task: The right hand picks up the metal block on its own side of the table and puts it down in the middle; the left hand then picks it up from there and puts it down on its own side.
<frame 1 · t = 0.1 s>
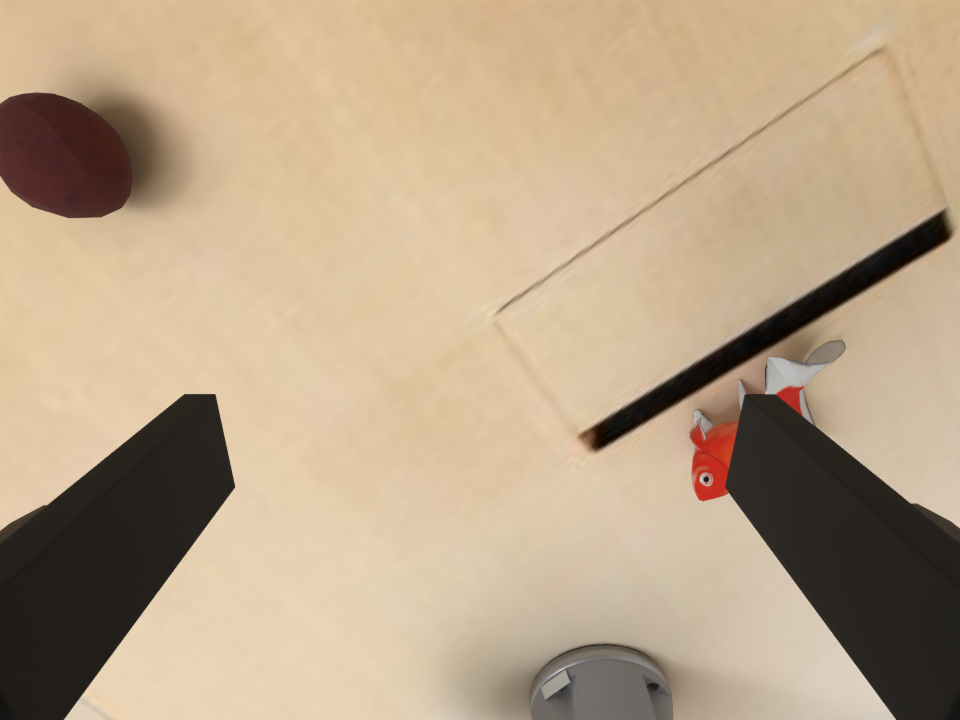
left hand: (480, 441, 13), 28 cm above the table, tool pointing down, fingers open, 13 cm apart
fish: (741, 394, 43), on the table
dark brown round piece: (103, 159, 37), on the table
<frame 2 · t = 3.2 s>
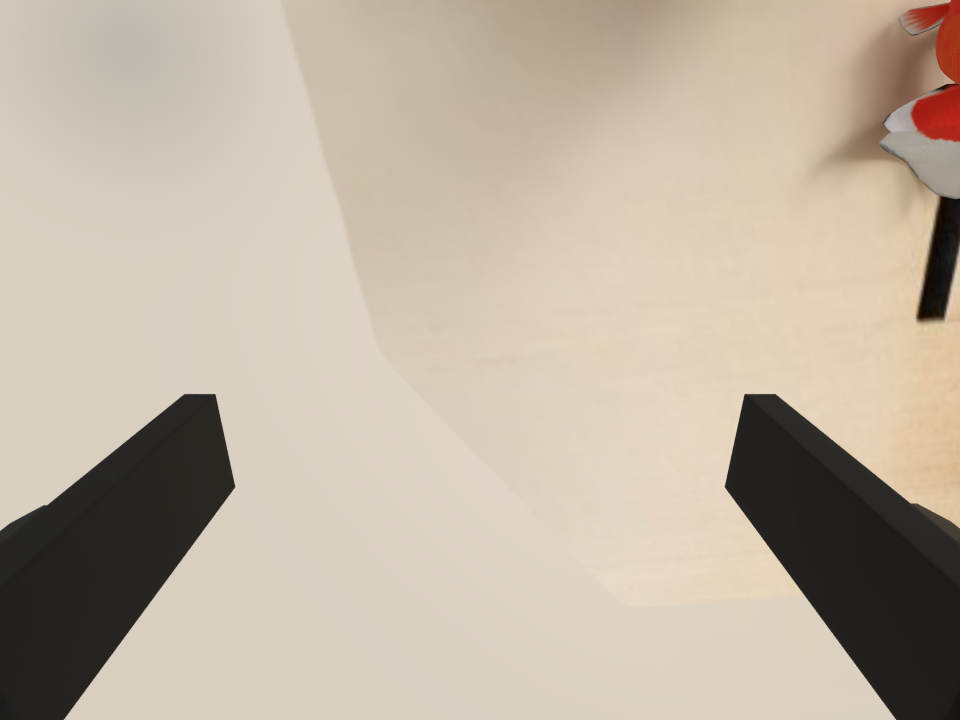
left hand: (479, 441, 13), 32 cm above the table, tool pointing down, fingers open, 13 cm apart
fish: (926, 93, 39), on the table
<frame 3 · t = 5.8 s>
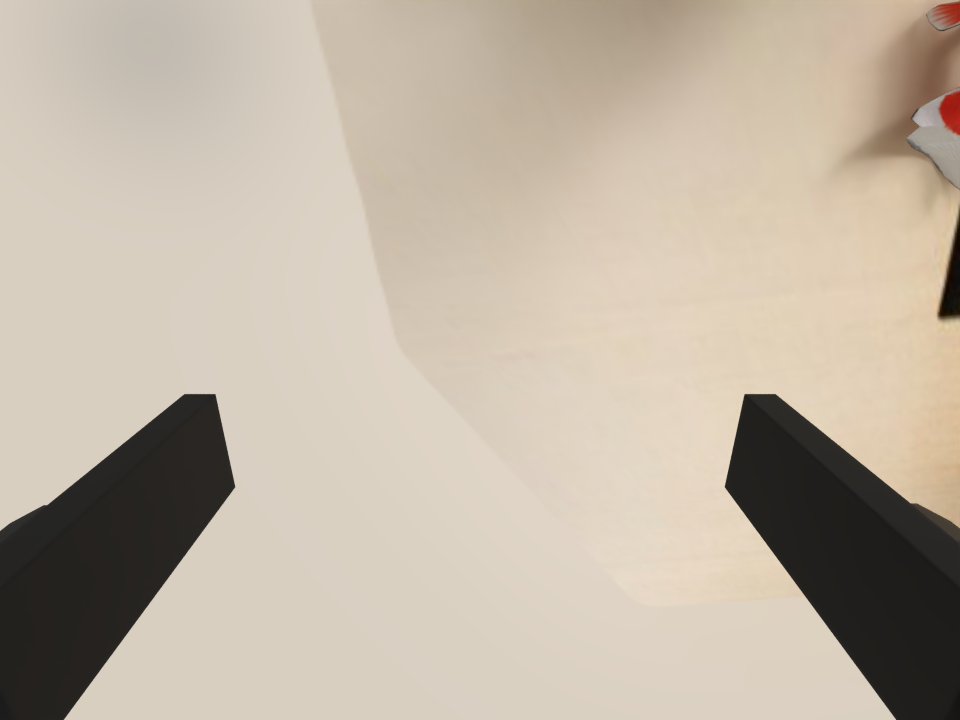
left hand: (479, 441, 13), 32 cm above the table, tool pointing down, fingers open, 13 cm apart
fish: (952, 89, 39), on the table
when the right hand's fingers open (2 cm above the table, at t = 8.6 s): block drops 2 cm, on the table.
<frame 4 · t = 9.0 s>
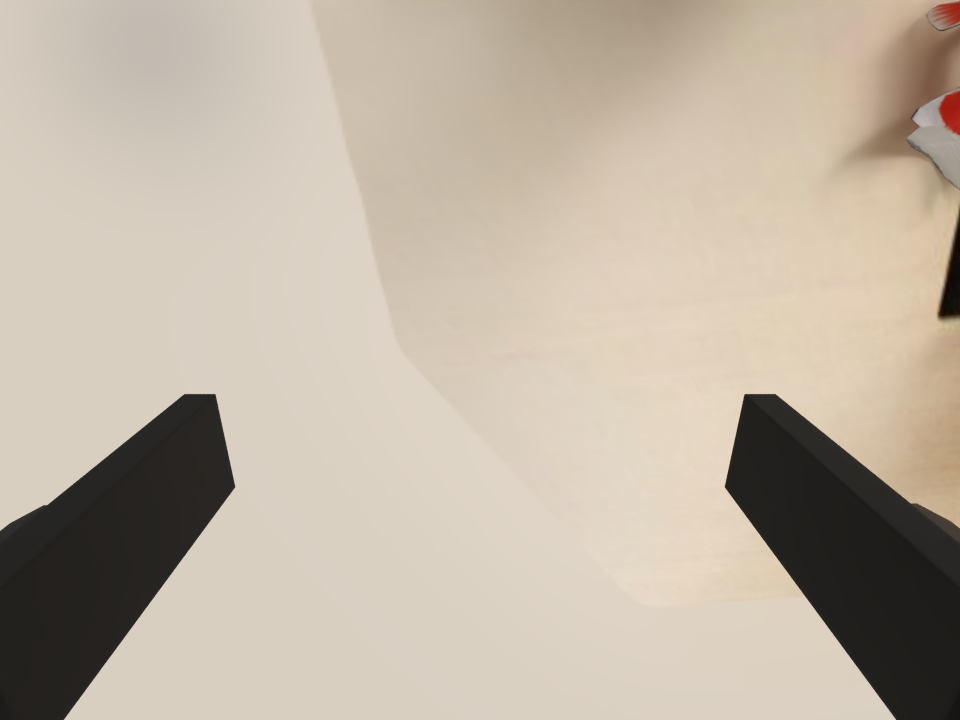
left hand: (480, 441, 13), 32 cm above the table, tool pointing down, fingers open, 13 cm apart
fish: (952, 89, 39), on the table
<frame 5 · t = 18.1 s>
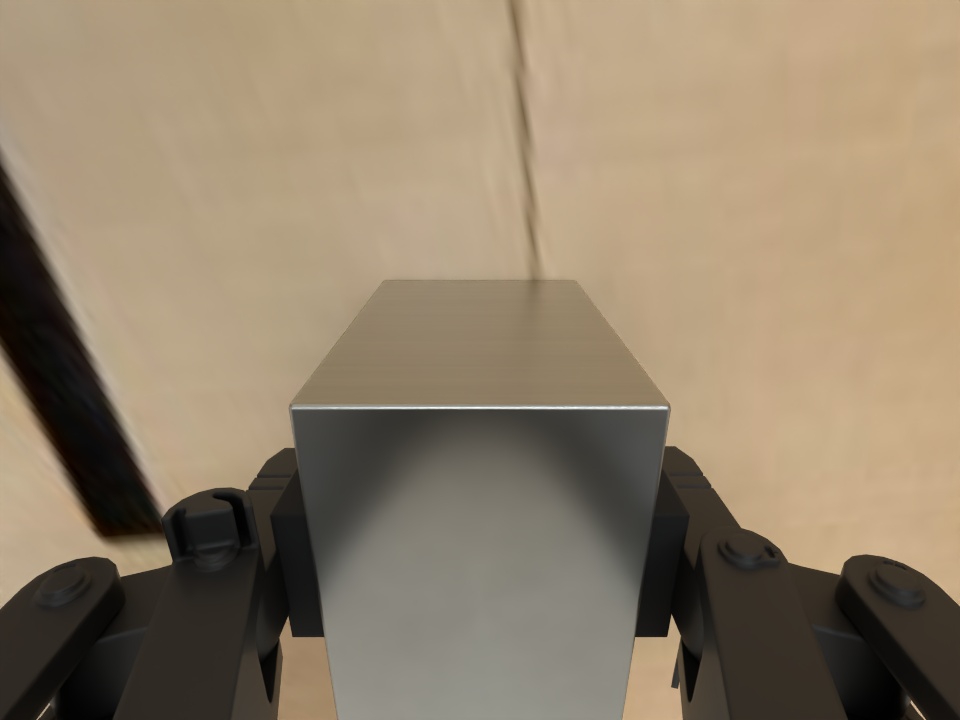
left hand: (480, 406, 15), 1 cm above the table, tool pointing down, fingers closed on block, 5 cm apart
block: (479, 398, 15), on the table, touching left hand
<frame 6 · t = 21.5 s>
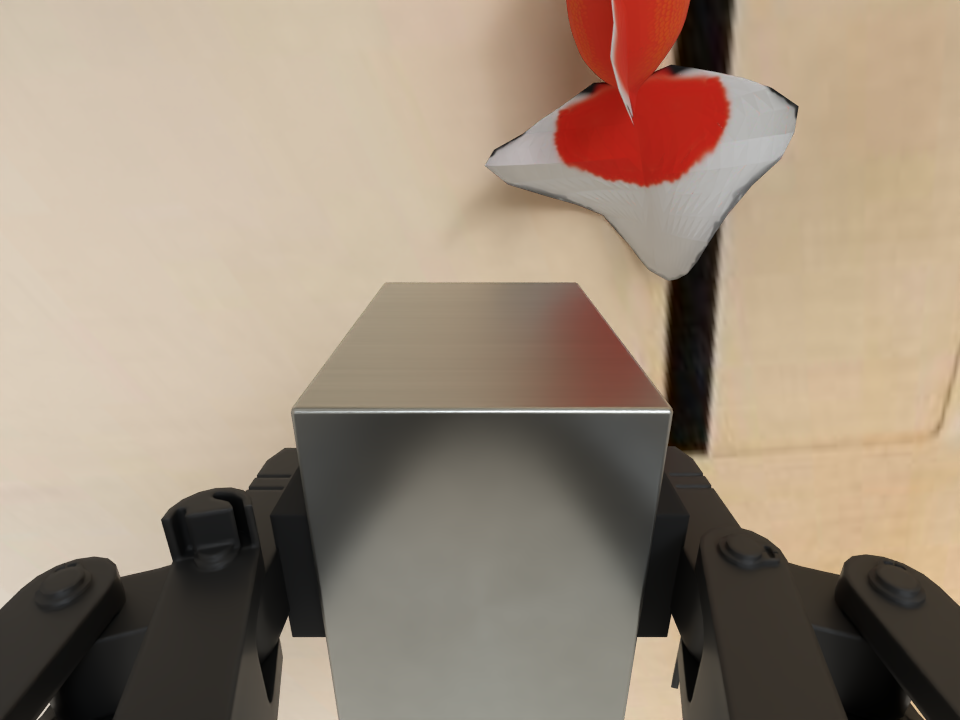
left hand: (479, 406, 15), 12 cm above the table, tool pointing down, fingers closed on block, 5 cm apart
block: (480, 399, 15), point 12 cm above the table, touching left hand
fish: (617, 101, 23), on the table
when the left hand's fingers open (2 cm above the table, at t = 24.8 s): block drops 2 cm, on the table.
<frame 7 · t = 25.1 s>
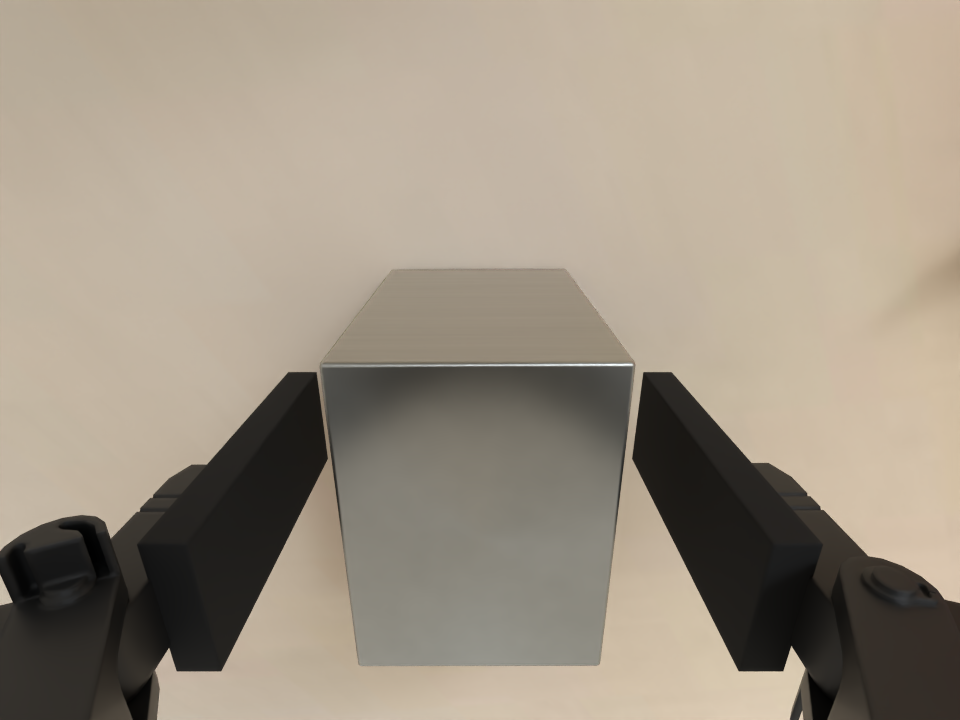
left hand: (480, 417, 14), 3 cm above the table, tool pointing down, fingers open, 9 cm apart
block: (479, 377, 17), on the table
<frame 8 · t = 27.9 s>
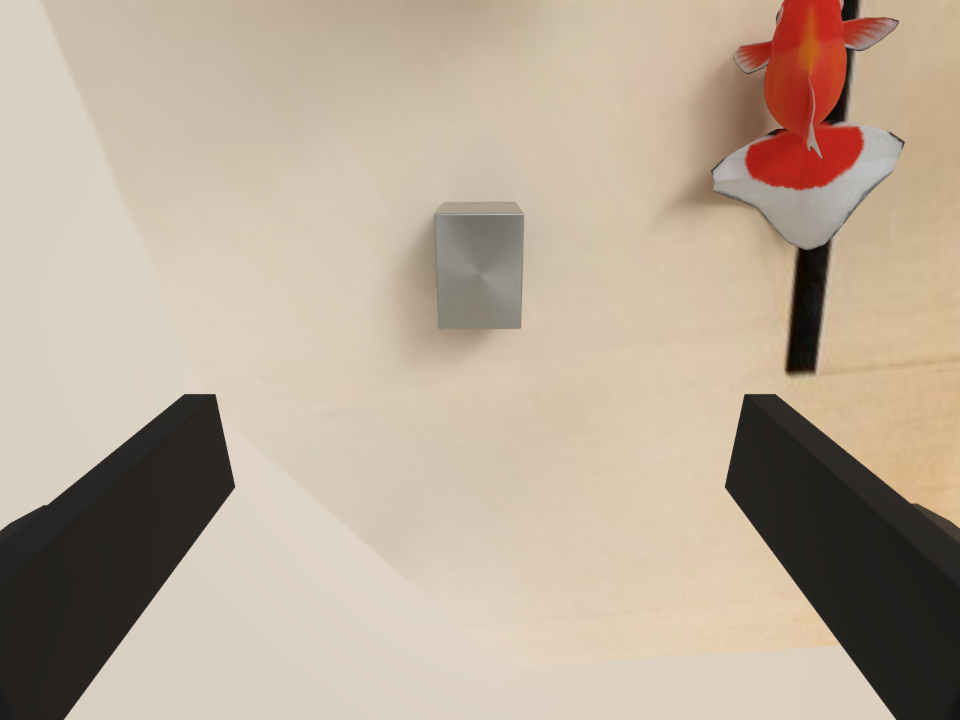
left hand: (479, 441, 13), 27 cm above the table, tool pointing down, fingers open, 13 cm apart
block: (479, 252, 38), on the table
fish: (772, 134, 35), on the table
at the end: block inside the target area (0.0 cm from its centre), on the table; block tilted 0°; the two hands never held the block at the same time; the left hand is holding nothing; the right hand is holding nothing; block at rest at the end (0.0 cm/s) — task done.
